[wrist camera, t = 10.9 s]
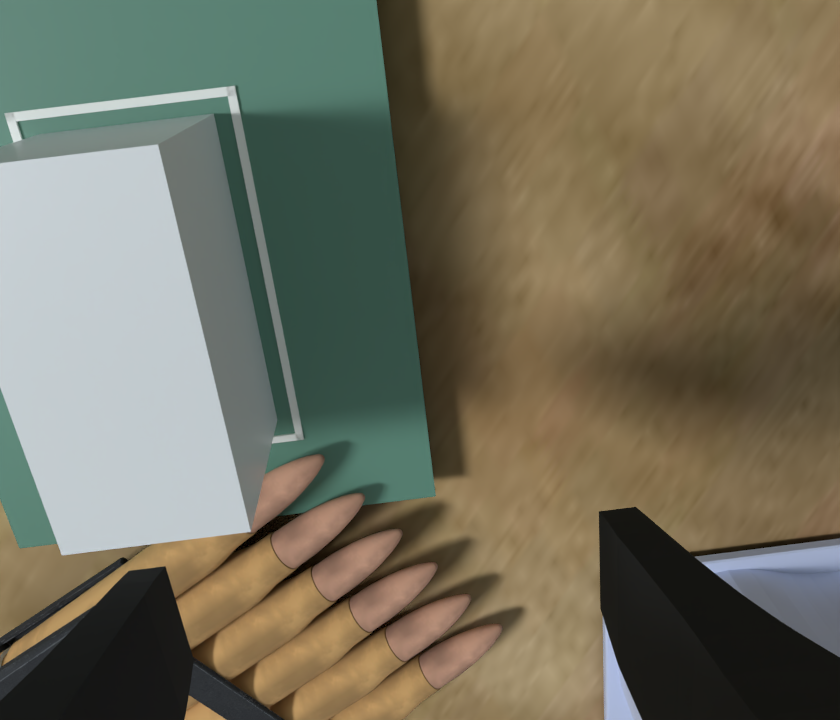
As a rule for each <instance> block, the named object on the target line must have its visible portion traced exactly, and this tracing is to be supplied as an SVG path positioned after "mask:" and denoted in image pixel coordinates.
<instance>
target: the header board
mask: <svg viewBox="0 0 840 720" xmlns="http://www.w3.org/2000/svg"><path fill="white" fill-rule="evenodd" d="M206 114H214V117H215V122H216V127H217V131H218V136H219V141H220V146H221V151H222V156H223V160H224V165H225V170H226V175H227V180H228V184H229V189H230V194H231V199H232V204H233V209H234V213H235V218H236V223H237V228H238V233H239V237H240V242H241V247H242V252H243V257H244V262H245V266H246V271H247V276H248V281H249V286H250V290H251V295H252V300H253V305H254V310H255V314H256V319H257V324H258V329H259V334H260V339H261V343H262V348H263V353H264V358H265V363H266V367H267V372H268V377H269V382H270V387H271V392H272V396H273V401H274V406H275V411H276V416H277V424H276V428H275V433H274V437H273V441H272V445H271V449H270V454H269V458H268V462H267V466H266V470H265V474H266V473H268V472H270V471H272V470H273V469H276V468H278V467H280V466H282V465H284V464H286V463H289V462H291V461H294V460H296V459H299V458H302V457H306V456H310V455H315V454H322V455H323V456H324V458H325V460H324V463H323V465H322V467H321V469H320V471H319V472H318V474H317V475H316V477H315V478H314V479H313V480H312V482H311V483H310V484H309V485H308V486H307V488H306V489H305V490H304V491H303V492H302V493H301V494H300V495H299V496H298V497H297V498H296V499H295V500H294V501H293V502H292V503H291V504H290V505H289V506H288V507H287V508H285V509H284V510H283V511H282V512H281V513H280V514H279V515H277V516H282V515H290V514H298V513H305V512H307V511H309V510H310V509H312V508H314V507H316V506H318V505H320V504H323V503H325V502H327V501H330V500H332V499H335V498H338V497H341V496H344V495H348V494H353V493H363V494H364V495H365V500H364V502H363V504H362V505H370V504H378V503H386V502H394V501H402V500H409V499H417V498H425V497H433V496H436V495H435V487H434V479H433V470H432V462H431V454H430V445H429V437H428V428H427V420H426V412H425V403H424V395H423V387H422V378H421V370H420V362H419V353H418V345H417V336H416V328H415V320H414V311H413V303H412V295H411V286H410V278H409V269H408V261H407V253H406V244H405V236H404V228H403V219H402V211H401V203H400V194H399V186H398V177H397V169H396V161H395V152H394V144H393V136H392V127H391V119H390V110H389V102H388V94H387V85H386V77H385V69H384V60H383V52H382V43H381V35H380V27H379V18H378V10H377V2H376V0H0V147H1V146H4V145H7V144H10V143H14V142H17V141H20V140H23V139H26V138H29V137H32V136H35V135H38V134H45V133H53V132H62V131H70V130H79V129H87V128H96V127H104V126H113V125H121V124H129V123H138V122H146V121H155V120H163V119H172V118H180V117H189V116H197V115H206ZM0 500H1V503H2V505H3V508H4V510H5V513H6V515H7V518H8V520H9V523H10V525H11V528H12V530H13V533H14V535H15V538H16V541H17V543H18V546H19V548H27V547H35V546H43V545H51V544H57V541H56V538H55V535H54V533H53V530H52V527H51V524H50V522H49V519H48V516H47V514H46V511H45V508H44V505H43V503H42V500H41V497H40V495H39V492H38V489H37V486H36V484H35V481H34V478H33V476H32V473H31V470H30V467H29V465H28V462H27V459H26V456H25V454H24V451H23V448H22V446H21V443H20V440H19V437H18V435H17V432H16V429H15V427H14V424H13V421H12V418H11V416H10V413H9V410H8V407H7V405H6V402H5V399H4V397H3V394H2V391H1V388H0Z"/></svg>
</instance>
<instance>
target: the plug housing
mask: <svg viewBox="0 0 840 720" xmlns="http://www.w3.org/2000/svg"><path fill="white" fill-rule="evenodd" d="M0 388H1V391H2V394H3V397H4V399H5V402H6V405H7V407H8V410H9V413H10V416H11V418H12V421H13V424H14V427H15V429H16V432H17V435H18V437H19V440H20V443H21V446H22V448H23V451H24V454H25V456H26V459H27V462H28V465H29V467H30V470H31V473H32V476H33V478H34V481H35V484H36V486H37V489H38V492H39V495H40V497H41V500H42V503H43V505H44V508H45V511H46V514H47V516H48V519H49V522H50V524H51V527H52V530H53V533H54V535H55V538H56V541H57V544H58V546H59V549H60V552H61V554H62V555H69V554H77V553H85V552H93V551H101V550H109V549H117V548H125V547H133V546H141V545H149V544H157V543H165V542H174V541H182V540H190V539H198V538H206V537H214V536H222V535H230V534H238V533H246V532H251V529H252V525H253V521H254V517H255V512H256V508H257V504H258V500H259V496H260V491H261V487H262V483H263V479H264V475H265V470H266V466H267V462H268V458H269V454H270V449H271V445H272V441H273V437H274V433H275V428H276V424H277V416H276V411H275V406H274V401H273V396H272V392H271V387H270V382H269V377H268V372H267V367H266V363H265V358H264V353H263V348H262V343H261V339H260V334H259V329H258V324H257V319H256V314H255V310H254V305H253V300H252V295H251V290H250V286H249V281H248V276H247V271H246V266H245V262H244V257H243V252H242V247H241V242H240V237H239V233H238V228H237V223H236V218H235V213H234V209H233V204H232V199H231V194H230V189H229V184H228V180H227V175H226V170H225V165H224V160H223V156H222V151H221V146H220V141H219V136H218V131H217V127H216V122H215V117H214V114H206V115H197V116H189V117H180V118H172V119H163V120H155V121H146V122H138V123H129V124H121V125H113V126H104V127H96V128H87V129H79V130H70V131H62V132H53V133H45V134H38V135H35V136H32V137H29V138H26V139H23V140H20V141H17V142H14V143H10V144H7V145H4V146H1V147H0Z"/></svg>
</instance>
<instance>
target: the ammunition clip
mask: <svg viewBox="0 0 840 720" xmlns="http://www.w3.org/2000/svg"><path fill="white" fill-rule="evenodd" d="M324 460H325V458H324V456H323V455H322V454H315V455H310V456H306V457H302V458H299V459H296V460H294V461H291V462H289V463H286V464H284V465H282V466H280V467H278V468H276V469H273V470H272V471H270V472H268V473H266V474H265V475H264V479H263V483H262V487H261V491H260V496H259V500H258V504H257V508H256V512H255V517H254V521H253V525H252V529H251V532H246V533H238V534H230V535H222V536H214V537H206V538H198V539H190V540H182V541H174V542H165V543H157V544H151V545H150V546H148V547H147V548H146V549H144V550H143V551H141V552H140V553H139V554H137V555H136V556H134V557H133V558H132V559H130V560H129V561H128V560H127V559H126V558H120V559H119V560H117V561H116V562H114V563H113V564H111V565H110V566H108V567H107V568H105V569H104V570H102V571H101V572H99V573H98V574H96V575H95V576H93V577H92V578H90V579H89V580H87V581H86V582H84V583H82V584H81V585H79V586H78V587H76V588H75V589H73V590H72V591H70V592H69V593H67V594H66V595H64V596H63V597H61V598H60V599H58V600H57V601H55V602H54V603H52V604H51V605H49V606H48V607H46V608H45V609H43V610H42V611H40V612H39V613H37V614H36V615H34V616H33V617H31V618H30V619H28V620H27V621H25V622H24V623H22V624H21V625H19V626H18V627H16V628H15V629H13V630H11V631H10V632H8V633H7V634H5V635H4V636H2V637H1V638H0V701H1V700H2V699H3V698H4V697H5V696H6V695H7V694H8V693H9V692H10V691H11V690H12V689H13V688H14V687H15V686H16V685H17V684H18V683H19V682H21V681H22V680H23V679H24V678H25V677H26V676H27V675H28V674H29V673H30V672H31V671H32V670H33V669H34V668H35V667H36V666H37V665H38V664H39V663H40V662H41V661H42V660H43V659H44V658H45V657H46V656H47V655H48V654H49V653H50V652H51V651H52V650H53V649H54V648H55V647H56V646H57V645H58V644H59V643H60V642H61V641H62V640H63V639H64V638H65V636H66V635H67V634H68V633H69V632H70V631H71V630H72V629H73V628H74V627H75V626H76V625H77V624H78V623H79V622H80V621H81V620H82V619H83V618H84V617H85V616H86V615H87V613H88V612H89V611H90V610H91V609H92V608H93V607H94V606H95V605H96V604H97V603H98V602H99V601H100V600H101V599H102V598H103V596H104V595H105V594H106V593H107V592H108V591H109V590H110V589H111V588H112V587H113V586H114V585H115V584H116V583H117V582H118V581H119V580H120V579H121V578H122V577H123V576H124V575H125V574H126V573H127V572H128V571H131V570H139V569H147V568H155V567H163V566H166V570H167V573H168V576H169V580H170V583H171V586H172V589H173V593H174V596H175V599H176V603H177V606H178V609H179V612H180V616H181V619H182V622H183V626H184V629H185V632H186V636H187V639H188V642H189V645H190V649H191V652H192V655H193V659H194V663H193V670H192V677H191V684H190V691H189V697H188V703H187V709H186V714H185V720H402V719H404V718H405V717H407V716H408V715H409V714H410V713H411V712H412V711H413V710H414V709H415V708H416V707H417V706H418V705H419V704H420V703H421V702H422V701H424V700H425V699H426V698H428V697H429V696H431V695H432V694H434V693H435V692H437V691H438V690H439V689H440V688H441V687H442V686H444V685H445V684H447V683H448V682H450V681H451V680H453V679H454V678H456V677H457V676H459V675H460V674H462V673H463V672H464V671H465V670H467V669H468V668H469V667H470V666H472V665H473V664H474V663H475V662H476V661H477V660H478V659H480V658H481V657H482V656H483V655H484V654H485V653H486V651H487V650H488V649H489V648H490V647H491V646H492V645H493V644H494V642H495V641H496V640H497V638H498V637H499V635H500V633H501V631H502V626H501V624H488V625H483V626H479V627H476V628H473V629H470V630H467V631H464V632H462V633H459V634H457V635H455V636H453V637H451V638H449V639H446V640H444V641H442V642H440V643H439V644H437V645H435V646H434V647H432V648H430V649H429V650H427V651H425V652H424V653H421V654H419V655H417V656H415V655H416V654H418V653H419V652H421V651H422V650H424V649H425V648H427V647H428V646H429V645H431V644H432V643H433V642H434V641H435V640H437V639H438V638H439V637H440V636H442V635H443V634H444V633H445V632H446V631H447V630H448V629H449V628H450V627H451V626H452V625H453V624H454V623H455V622H456V621H457V620H458V618H459V617H460V616H461V615H462V614H463V612H464V611H465V610H466V608H467V607H468V605H469V603H470V601H471V596H470V595H469V594H459V595H454V596H449V597H446V598H443V599H440V600H437V601H434V602H432V603H429V604H427V605H424V606H422V607H420V608H418V609H416V610H414V611H412V612H410V613H408V614H407V615H405V616H403V617H402V618H400V619H398V620H397V621H395V622H394V623H392V624H390V625H389V626H385V627H384V628H382V629H380V630H379V631H377V632H375V633H373V634H372V635H370V634H371V633H372V632H373V630H375V629H376V628H378V627H379V626H381V625H382V624H384V623H385V622H387V621H388V620H390V619H391V618H392V617H394V616H395V615H396V614H397V613H399V612H400V611H401V610H402V609H403V608H404V607H406V606H407V605H408V604H409V603H410V602H411V601H412V600H413V599H414V598H415V597H416V596H417V595H418V594H419V593H420V592H421V591H422V590H423V589H424V588H425V586H426V585H427V584H428V583H429V581H430V580H431V579H432V577H433V576H434V574H435V572H436V570H437V568H438V565H437V564H436V563H435V562H427V563H421V564H417V565H413V566H410V567H407V568H404V569H402V570H399V571H397V572H394V573H392V574H390V575H388V576H386V577H384V578H382V579H380V580H378V581H376V582H374V583H372V584H371V585H369V586H367V587H366V588H364V589H363V590H361V591H360V592H358V593H357V594H355V595H353V596H350V597H348V598H347V599H345V600H343V601H342V602H340V603H338V604H337V605H335V606H333V607H332V608H330V609H327V608H328V607H330V606H331V605H332V604H334V603H335V602H336V601H337V599H339V598H340V597H342V596H343V595H345V594H346V593H347V592H349V591H350V590H352V589H353V588H355V587H356V586H357V585H358V584H360V583H361V582H362V581H363V580H364V579H365V578H367V577H368V576H369V575H370V574H371V573H372V572H373V571H375V570H376V569H377V568H378V567H379V566H380V565H381V564H382V563H383V561H384V560H385V559H386V558H387V557H388V556H389V555H390V553H391V552H392V551H393V550H394V548H395V547H396V546H397V544H398V542H399V541H400V539H401V537H402V535H403V532H402V530H401V529H389V530H384V531H380V532H377V533H375V534H372V535H369V536H366V537H364V538H361V539H359V540H357V541H355V542H353V543H351V544H349V545H347V546H345V547H343V548H341V549H339V550H338V551H336V552H334V553H333V554H331V555H329V556H328V557H326V558H325V559H323V560H322V561H320V562H319V563H317V564H316V565H312V566H311V567H309V568H308V569H306V570H304V571H303V572H301V573H299V574H298V575H296V576H295V577H293V578H290V579H288V580H285V581H283V582H281V583H279V582H280V581H282V580H283V579H284V578H286V577H287V576H288V575H290V574H291V573H292V572H293V571H295V570H296V569H297V568H298V567H299V566H300V565H301V564H303V563H304V562H305V561H307V560H308V559H310V558H311V557H312V556H314V555H315V554H316V553H318V552H319V551H320V550H321V549H322V548H324V547H325V546H326V545H327V544H328V543H329V542H330V541H332V540H333V539H334V538H335V537H336V536H337V535H338V534H339V533H340V532H341V531H342V530H343V529H344V528H345V527H346V526H347V524H348V523H349V522H350V521H351V520H352V519H353V517H354V516H355V515H356V514H357V512H358V511H359V509H360V508H361V506H362V504H363V502H364V500H365V495H364V494H363V493H353V494H348V495H344V496H341V497H338V498H335V499H332V500H330V501H327V502H325V503H323V504H320V505H318V506H316V507H314V508H312V509H310V510H309V511H307V512H305V513H303V514H301V515H300V516H298V517H296V518H295V519H293V520H292V521H290V522H289V523H287V524H286V525H284V526H283V527H281V528H280V529H278V530H277V531H273V532H272V533H270V534H269V535H267V536H266V537H264V538H262V539H261V540H259V541H258V542H256V543H255V544H253V545H251V546H248V547H246V548H243V549H241V550H239V551H237V552H234V553H232V552H233V551H234V550H235V549H236V548H237V547H238V546H240V545H241V544H242V543H244V542H245V541H246V540H247V539H249V538H250V537H251V536H252V535H254V534H255V533H256V532H257V530H259V529H260V528H261V527H263V526H264V525H265V524H267V523H268V522H269V521H271V520H272V519H273V518H275V517H276V516H277V515H279V514H280V513H281V512H282V511H283V510H284V509H285V508H287V507H288V506H289V505H290V504H291V503H292V502H293V501H294V500H295V499H296V498H297V497H298V496H299V495H300V494H301V493H302V492H303V491H304V490H305V489H306V488H307V486H308V485H309V484H310V483H311V482H312V480H313V479H314V478H315V477H316V475H317V474H318V472H319V471H320V469H321V467H322V465H323V463H324ZM326 609H327V610H326ZM368 635H370V636H368ZM367 636H368V637H367ZM365 637H366V638H365ZM413 656H415V657H413ZM412 657H413V658H412ZM410 658H412V659H410ZM409 659H410V660H409Z"/></svg>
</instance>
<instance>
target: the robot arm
mask: <svg viewBox="0 0 840 720" xmlns="http://www.w3.org/2000/svg"><path fill="white" fill-rule="evenodd" d="M599 540H600V602H601V611H602V615H603V668H604V720H840V538H839V539H831V540H823V541H815V542H807V543H799V544H791V545H783V546H775V547H767V548H760V549H752V550H744V551H736V552H728V553H720V554H712V555H704V556H696V557H694V556H693V555H692V554H690V553H689V552H688V551H687V550H686V549H684V548H683V547H682V546H681V545H680V544H679V543H677V542H676V541H675V540H674V539H673V538H671V537H670V536H669V535H668V534H667V533H666V532H664V531H663V530H662V529H661V528H660V527H659V526H658V525H656V524H655V523H654V522H653V521H652V520H651V519H649V518H648V517H647V516H646V515H645V514H643V513H642V512H641V511H640V510H639V509H637V508H636V507H632V508H624V509H616V510H608V511H600V512H599ZM193 663H194V659H193V655H192V652H191V649H190V645H189V642H188V639H187V636H186V632H185V629H184V626H183V622H182V619H181V616H180V612H179V609H178V606H177V603H176V599H175V596H174V593H173V589H172V586H171V583H170V580H169V576H168V573H167V570H166V566H163V567H155V568H147V569H139V570H131V571H128V572H127V573H126V574H125V575H124V576H123V577H122V578H121V579H120V580H119V581H118V582H117V583H116V584H115V585H114V586H113V587H112V588H111V589H110V590H109V591H108V592H107V593H106V594H105V595H104V596H103V598H102V599H101V600H100V601H99V602H98V603H97V604H96V605H95V606H94V607H93V608H92V609H91V610H90V611H89V612H88V613H87V615H86V616H85V617H84V618H83V619H82V620H81V621H80V622H79V623H78V624H77V625H76V626H75V627H74V628H73V629H72V630H71V631H70V632H69V633H68V634H67V635H66V636H65V638H64V639H63V640H62V641H61V642H60V643H59V644H58V645H57V646H56V647H55V648H54V649H53V650H52V651H51V652H50V653H49V654H48V655H47V656H46V657H45V658H44V659H43V660H42V661H41V662H40V663H39V664H38V665H37V666H36V667H35V668H34V669H33V670H32V671H31V672H30V673H29V674H28V675H27V676H26V677H25V678H24V679H23V680H22V681H21V682H19V683H18V684H17V685H16V686H15V687H14V688H13V689H12V690H11V691H10V692H9V693H8V694H7V695H6V696H5V697H4V698H3V699H2V700H1V701H0V720H185V714H186V709H187V703H188V697H189V691H190V684H191V677H192V670H193Z"/></svg>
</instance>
